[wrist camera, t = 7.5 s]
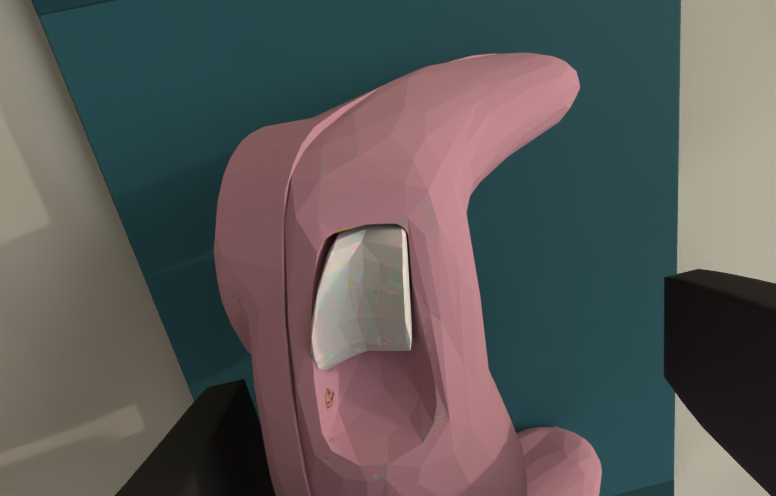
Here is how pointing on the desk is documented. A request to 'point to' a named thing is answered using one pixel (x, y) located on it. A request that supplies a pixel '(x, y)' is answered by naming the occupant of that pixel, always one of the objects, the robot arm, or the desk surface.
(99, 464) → the desk surface
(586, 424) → the teal board
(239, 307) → the video game controller
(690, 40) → the desk surface
